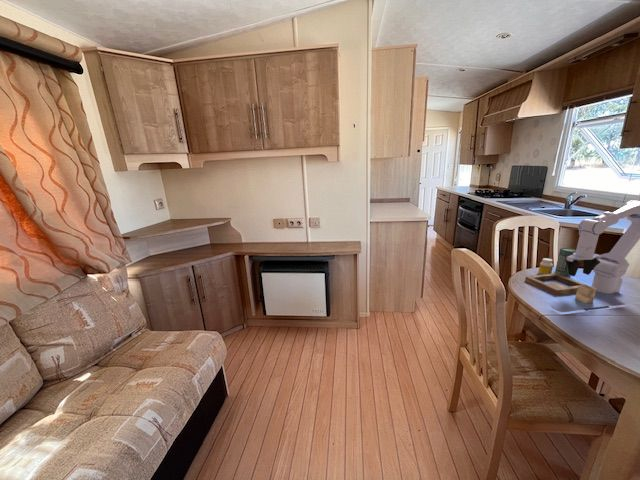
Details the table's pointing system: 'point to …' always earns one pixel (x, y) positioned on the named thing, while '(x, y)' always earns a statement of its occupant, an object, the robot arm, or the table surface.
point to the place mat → (597, 308)
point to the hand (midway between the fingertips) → (578, 274)
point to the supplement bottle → (545, 266)
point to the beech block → (585, 293)
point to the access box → (554, 283)
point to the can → (563, 261)
